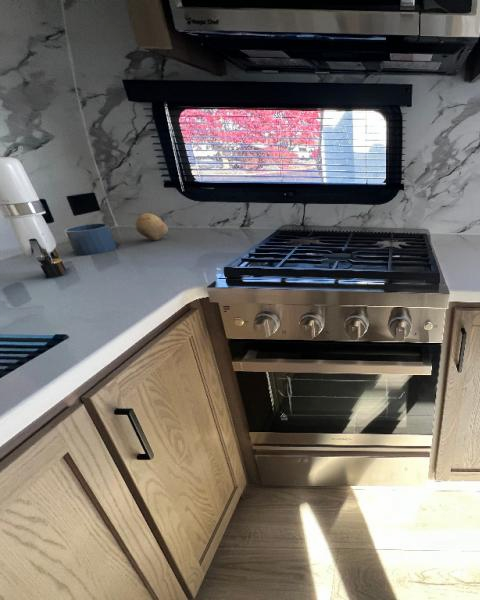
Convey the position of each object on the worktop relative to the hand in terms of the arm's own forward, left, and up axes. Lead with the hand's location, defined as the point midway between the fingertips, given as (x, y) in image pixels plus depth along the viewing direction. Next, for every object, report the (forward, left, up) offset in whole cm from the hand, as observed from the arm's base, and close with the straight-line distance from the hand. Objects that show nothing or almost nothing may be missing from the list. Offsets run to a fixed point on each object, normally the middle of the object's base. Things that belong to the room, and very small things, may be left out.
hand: (57, 274), depth 93 cm
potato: (+24, +26, -1) cm, 35 cm away
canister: (+7, +24, 0) cm, 25 cm away
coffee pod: (0, 0, 0) cm, 0 cm away
